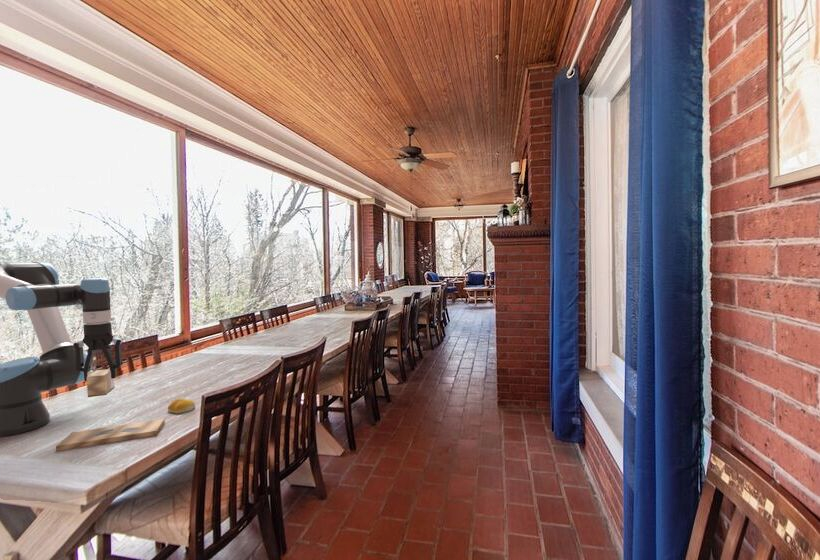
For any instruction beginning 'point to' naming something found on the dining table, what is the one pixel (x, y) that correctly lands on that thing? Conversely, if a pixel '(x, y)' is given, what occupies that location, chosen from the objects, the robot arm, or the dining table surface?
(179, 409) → the bread roll
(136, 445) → the dining table surface
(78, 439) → the oak plank
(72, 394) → the dining table surface
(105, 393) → the block
